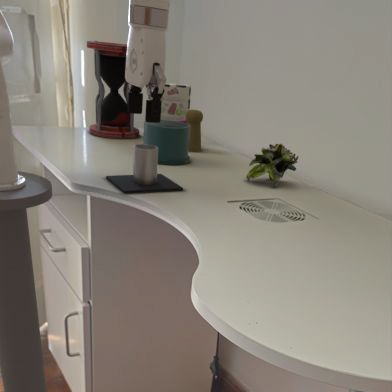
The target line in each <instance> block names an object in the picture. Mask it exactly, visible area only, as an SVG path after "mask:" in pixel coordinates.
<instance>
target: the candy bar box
mask: <svg viewBox="0 0 392 392" xmlns="http://www.w3.org/2000/svg"><path fill="white" fill-rule="evenodd" d="M191 90H192V86H191V85H189V84H186V83H185V84H183V83H172V82H171V83H170V82H166V84H165V87H164V91H165V92H164V94H163V101H162V106H161V120H171V121H177V122H182V123H186V124H187V120H186V112H187V111H188V110H191V109H190V108H191V94H192V91H191Z"/></svg>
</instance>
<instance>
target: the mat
mask: <svg viewBox="0 0 392 392" xmlns="http://www.w3.org/2000/svg"><path fill="white" fill-rule="evenodd" d="M105 179H106V180H107V181H109V182H110V183H111V184H112V185H114V186H115V187H116V188H117V189H118V190H120V191H121V192H122V193H123V194H143V193H144V194H145V193H163V192H180V191H184V187H182V186H181V185H179V184H178V183H176V182H175V181H173V180H171V179H170V178H168V177H167V176H166V175H164V174H162V173H157V183H156V184H154V185H141V184H137V183H135V182H133V174H117V175H106V176H105Z"/></svg>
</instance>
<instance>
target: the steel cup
mask: <svg viewBox="0 0 392 392" xmlns="http://www.w3.org/2000/svg"><path fill="white" fill-rule="evenodd" d="M132 162H133V163H132V164H133V165H132V175H133V182H135V183H137V184H141V185H154V184H156V183H157V174H158V165H159V164H158V147H156V146H153V145H147V144H143V143H139V144H134V145H133V160H132Z"/></svg>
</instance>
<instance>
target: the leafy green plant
mask: <svg viewBox="0 0 392 392" xmlns="http://www.w3.org/2000/svg"><path fill="white" fill-rule="evenodd" d="M260 151H261V153H262V154H261V153H260V154H258V153H254V158H252V159H251V161H250V162H249V167H251V166H252V165H254V166H253V167H252V168H251V169H250V170H249V171H248V172H247V174H246V176H245V179H246V180H247V182H249V181H250V179H257V178H259V177H261V176H263V175H265V174H268V178H269V180H271V181H273V182H275V183H274V186H273V188H276V186H277V185H278V183H279V181H280V179H282V178H283V177H284V175H285V173H286V171H288V170H290V171H292V172H295V171H297V168H296V166H294V165H295V164H297V163H298V160H299V155H297V156H296V153H293V151H291V150H290V149H288V148H287V147H286V146H285V145H283V144H282V143H275V145H274V144H271V143H270V144H269V145H268V147H266V148H265V147H261V149H260Z"/></svg>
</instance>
